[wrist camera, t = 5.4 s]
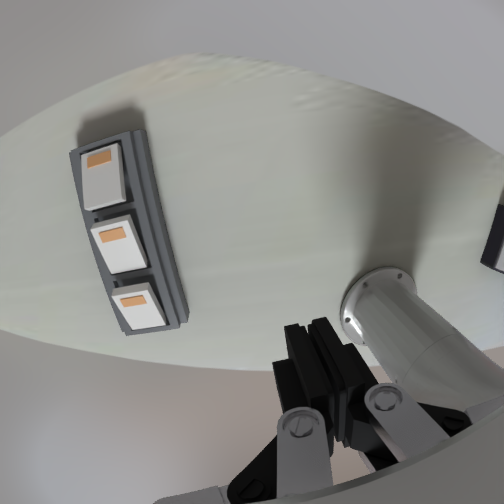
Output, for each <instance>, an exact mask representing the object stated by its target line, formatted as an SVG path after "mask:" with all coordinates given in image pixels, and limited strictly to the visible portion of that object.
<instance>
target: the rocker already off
mask: <svg viewBox="0 0 504 504" xmlns="http://www.w3.org/2000/svg"><path fill="white" fill-rule="evenodd" d="M111 297H112V298H113V300H114V302H115V303H116V305H117V306H118V308H119V310H120V311H121V313H122V314H123V316H124V318H125V319H126V321H127V322H128V324H129V325H130V327H131V328H132V330H135V329H143V328H149V327H156V326H163V325H166V316H165V314H164V312H163V310H162V308H161V306H160V304H159V302H158V300H157V298H156V296H155V294H154V292H153V290H152V288H151V286H150V284H149V282H147V283H141V284H136V285H131V286H125V287H120V288H114V289H113V292H112V296H111Z"/></svg>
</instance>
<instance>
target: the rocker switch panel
mask: <svg viewBox="0 0 504 504" xmlns="http://www.w3.org/2000/svg"><path fill="white" fill-rule="evenodd" d="M116 143H118V144H119V145H120V146H121V149H122V163H123V174H124V185H125V194H126V201H124V202H120V203H116V204H112V205H109V206H105V207H102V208H98V209H94V210H91V211H88V210H85V209H84V200H83V185H82V165H81V155H83V154H86V153H89V152H92V151H95V150H98V149H101V148H104V147H107V146H110V145H113V144H116ZM69 155H70V161H71V166H72V171H73V176H74V181H75V186H76V190H77V194H78V199H79V203H80V207H81V211H82V215H83V219H84V222H85V226H86V230H87V233H88V237H89V240H90V243H91V247H92V250H93V253H94V256H95V260H96V263H97V266H98V269H99V272H100V275H101V278H102V281H103V283H104V286H105V289H106V292H107V294H108V297H109V300H110V302H111V305H112V308H113V310H114V313H115V315H116V318H117V320H118V323H119V325H120V328H121V330H122V332H125V334H126V336H128V335H136V334H143V333H150V332H157V331H164V330H171V329H177V328H180V324H181V323H186V322H188V317H189V309H188V306H187V303H186V299H185V296H184V292H183V289H182V285H181V282H180V278H179V275H178V271H177V267H176V264H175V260H174V256H173V252H172V249H171V245H170V241H169V237H168V233H167V229H166V225H165V220H164V216H163V212H162V208H161V203H160V199H159V194H158V190H157V185H156V181H155V176H154V171H153V166H152V161H151V156H150V151H149V146H148V140H147V135H146V131H144V130H141V129H139V130H136V131H127V132H124V133H121V134H117V135H114V136H111V137H108V138H105V139H102V140H99V141H96V142H93V143H90V144H87V145H85V146H82V147H79V148H76V149H74V150H71V152H70V153H69ZM129 214H130V216H131V218H132V221H133V224H134V226H135V229H136V232H137V234H138V237H139V239H140V242H141V244H142V247H143V250H144V252H145V254H146V257H147V259H148V263H147V267H145V268H140V269H135V270H130V271H125V272H120V273H115V274H111V272H110V270H109V268H108V266H107V264H106V262H105V260H104V258H103V256H102V254H101V252H100V250H99V248H98V246H97V243H96V241H95V239H94V237H93V235H92V232H91V230H90V229H91V227H92V226H93V224H94V223H98V222H102V221H105V220H109V219H113V218H117V217H121V216H125V215H129ZM147 282H149V284H150V286H151V288H152V290H153V292H154V294H155V296H156V298H157V300H158V302H159V304H160V306H161V308H162V310H163V312H164V314H165V316H166V325H163V326H156V327H149V328H143V329H135V330H132V328H131V327H130V325H129V324H128V322H127V321H126V319H125V318H124V316H123V314H122V313H121V311H120V310H119V308H118V306H117V305H116V303H115V302H114V300H113V298H112V297H111V296H112V292H113V289H114V288H120V287H125V286H131V285H136V284H141V283H147Z"/></svg>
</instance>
